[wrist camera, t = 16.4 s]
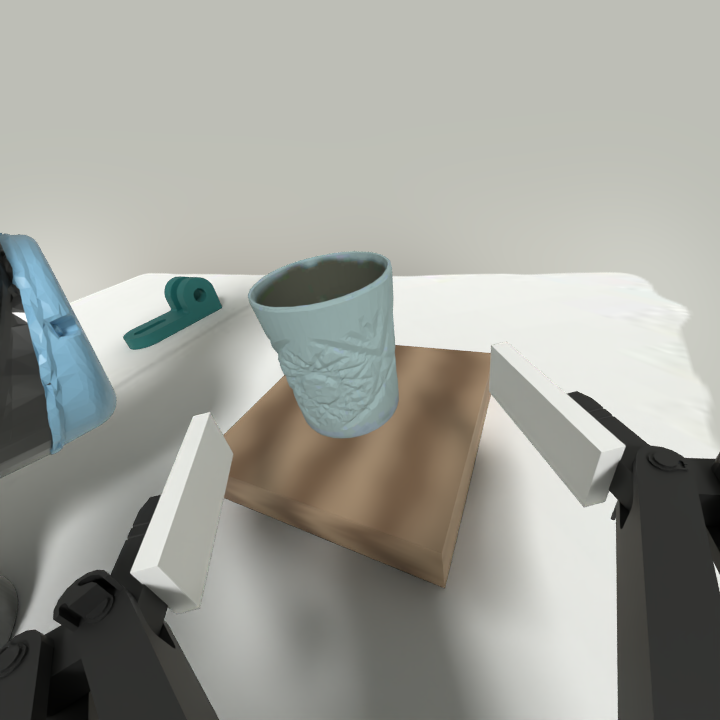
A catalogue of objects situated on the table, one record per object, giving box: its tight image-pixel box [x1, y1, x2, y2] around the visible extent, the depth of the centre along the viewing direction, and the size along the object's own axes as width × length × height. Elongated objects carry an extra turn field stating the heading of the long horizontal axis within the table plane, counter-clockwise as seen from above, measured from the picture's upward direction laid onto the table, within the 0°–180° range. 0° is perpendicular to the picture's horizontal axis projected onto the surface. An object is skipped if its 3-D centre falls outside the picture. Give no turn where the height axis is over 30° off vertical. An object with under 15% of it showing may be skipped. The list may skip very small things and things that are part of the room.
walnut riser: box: [223, 345, 491, 588], centre depth 31 cm, size 20×20×4 cm
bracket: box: [123, 277, 222, 350], centre depth 64 cm, size 18×7×8 cm, turn 148°
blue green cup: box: [248, 252, 399, 438], centre depth 26 cm, size 10×10×12 cm
